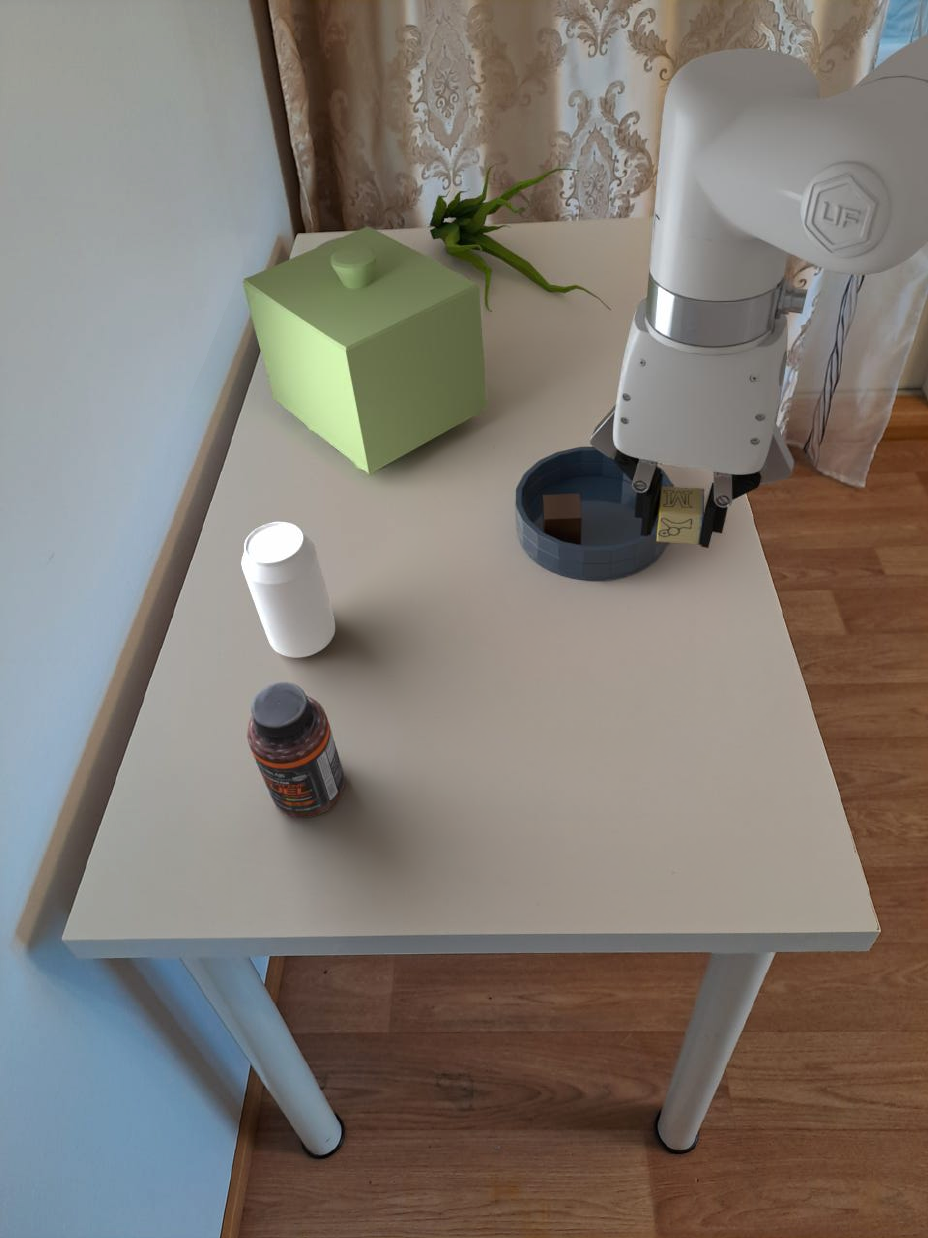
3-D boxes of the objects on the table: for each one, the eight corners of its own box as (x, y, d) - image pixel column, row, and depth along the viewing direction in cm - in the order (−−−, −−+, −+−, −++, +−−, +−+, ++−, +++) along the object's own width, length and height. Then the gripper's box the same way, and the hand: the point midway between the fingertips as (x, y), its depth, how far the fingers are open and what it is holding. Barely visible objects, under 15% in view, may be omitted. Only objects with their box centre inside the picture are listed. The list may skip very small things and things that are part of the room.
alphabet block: (699, 546, 65) (704, 515, 63) (655, 543, 66) (659, 512, 64) (699, 518, 67) (705, 486, 65) (657, 515, 68) (661, 483, 66)
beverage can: (304, 674, 80) (273, 579, 71) (256, 644, 82) (220, 549, 74) (351, 629, 83) (327, 533, 74) (302, 602, 86) (273, 506, 77)
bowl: (686, 492, 92) (691, 461, 89) (650, 596, 83) (654, 565, 80) (544, 465, 97) (543, 435, 94) (495, 561, 87) (493, 531, 84)
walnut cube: (578, 520, 90) (579, 493, 87) (580, 544, 87) (581, 517, 85) (543, 521, 90) (543, 494, 87) (544, 546, 88) (544, 519, 85)
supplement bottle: (262, 818, 70) (223, 735, 62) (283, 753, 74) (249, 667, 66) (337, 824, 70) (307, 741, 61) (353, 759, 73) (328, 672, 65)
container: (488, 426, 102) (478, 255, 87) (372, 492, 96) (339, 320, 81) (388, 360, 112) (364, 198, 97) (278, 416, 106) (233, 252, 91)
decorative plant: (471, 349, 113) (463, 233, 102) (428, 242, 133) (417, 136, 122) (610, 323, 114) (616, 207, 103) (547, 222, 134) (547, 115, 123)
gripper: (866, 283, 53) (801, 517, 67) (590, 254, 58) (582, 478, 71) (855, 352, 48) (787, 588, 62) (556, 314, 53) (555, 541, 67)
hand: (678, 527), depth 67 cm, fingers closed on alphabet block, 3 cm apart
